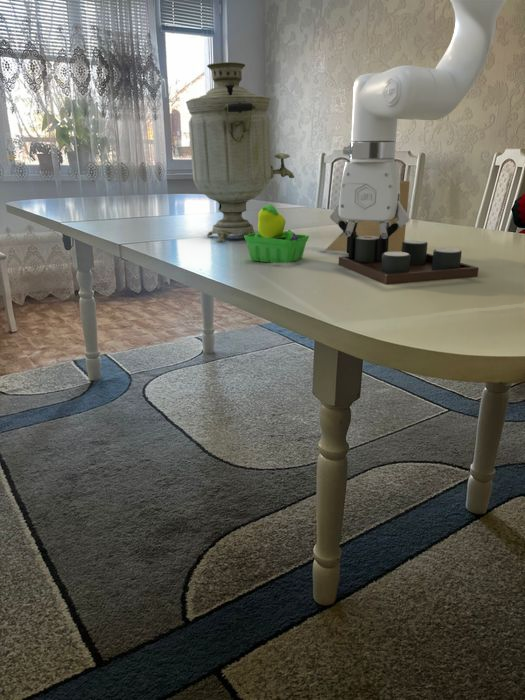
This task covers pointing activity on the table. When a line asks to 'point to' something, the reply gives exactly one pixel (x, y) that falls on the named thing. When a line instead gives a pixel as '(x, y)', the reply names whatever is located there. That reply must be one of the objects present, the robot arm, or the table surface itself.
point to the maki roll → (365, 248)
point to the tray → (413, 275)
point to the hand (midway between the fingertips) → (366, 257)
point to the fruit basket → (274, 239)
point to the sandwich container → (373, 227)
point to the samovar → (231, 147)
